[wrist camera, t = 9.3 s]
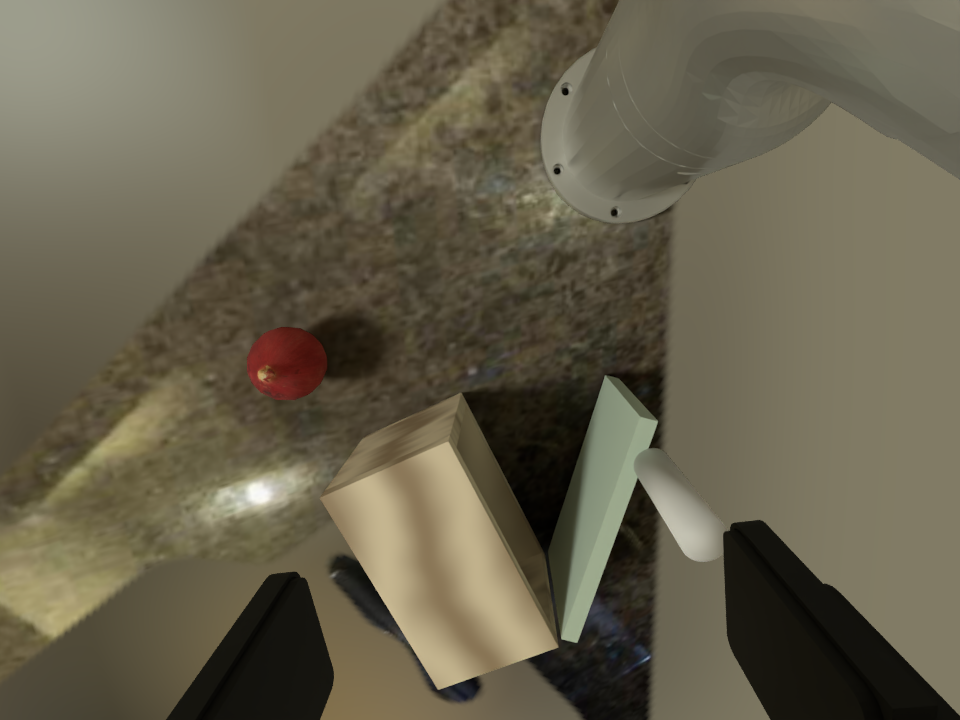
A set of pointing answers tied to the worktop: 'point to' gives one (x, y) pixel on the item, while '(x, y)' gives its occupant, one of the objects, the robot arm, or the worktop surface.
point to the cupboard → (445, 543)
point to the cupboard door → (620, 502)
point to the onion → (286, 363)
